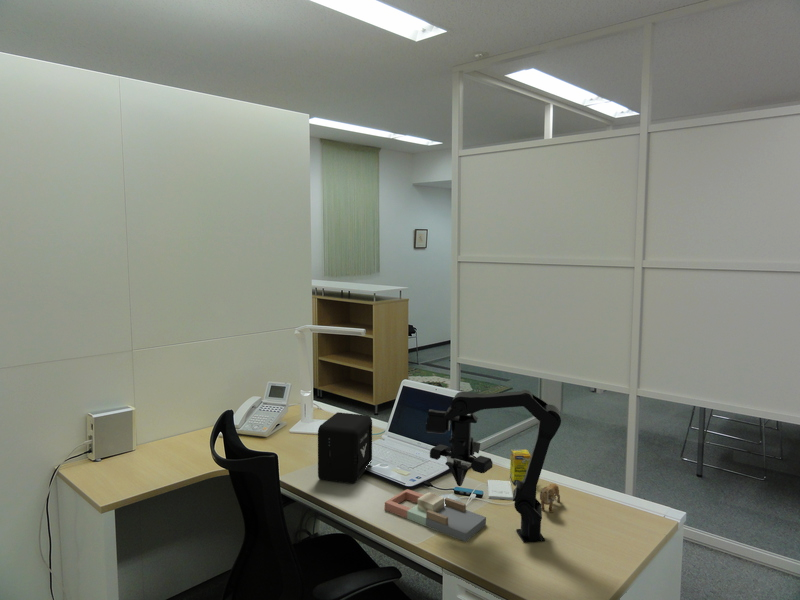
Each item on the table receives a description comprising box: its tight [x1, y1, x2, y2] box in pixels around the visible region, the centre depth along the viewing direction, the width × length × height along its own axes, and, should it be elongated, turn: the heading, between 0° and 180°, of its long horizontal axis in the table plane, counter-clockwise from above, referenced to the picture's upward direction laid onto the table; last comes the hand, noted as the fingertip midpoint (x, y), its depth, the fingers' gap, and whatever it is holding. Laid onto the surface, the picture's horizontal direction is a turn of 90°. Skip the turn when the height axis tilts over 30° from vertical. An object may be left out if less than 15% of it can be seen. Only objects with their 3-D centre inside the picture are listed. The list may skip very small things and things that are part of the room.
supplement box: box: [509, 449, 531, 485], centre depth 191 cm, size 6×6×11 cm
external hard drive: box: [486, 479, 513, 501], centre depth 184 cm, size 2×8×12 cm
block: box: [416, 491, 445, 512], centre depth 166 cm, size 6×6×3 cm
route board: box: [384, 488, 487, 543], centre depth 165 cm, size 30×12×4 cm, turn 53°
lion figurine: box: [539, 483, 561, 514], centre depth 172 cm, size 15×5×9 cm, turn 155°
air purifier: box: [317, 411, 373, 484], centre depth 196 cm, size 20×15×20 cm
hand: (459, 485), depth 159 cm, fingers closed
